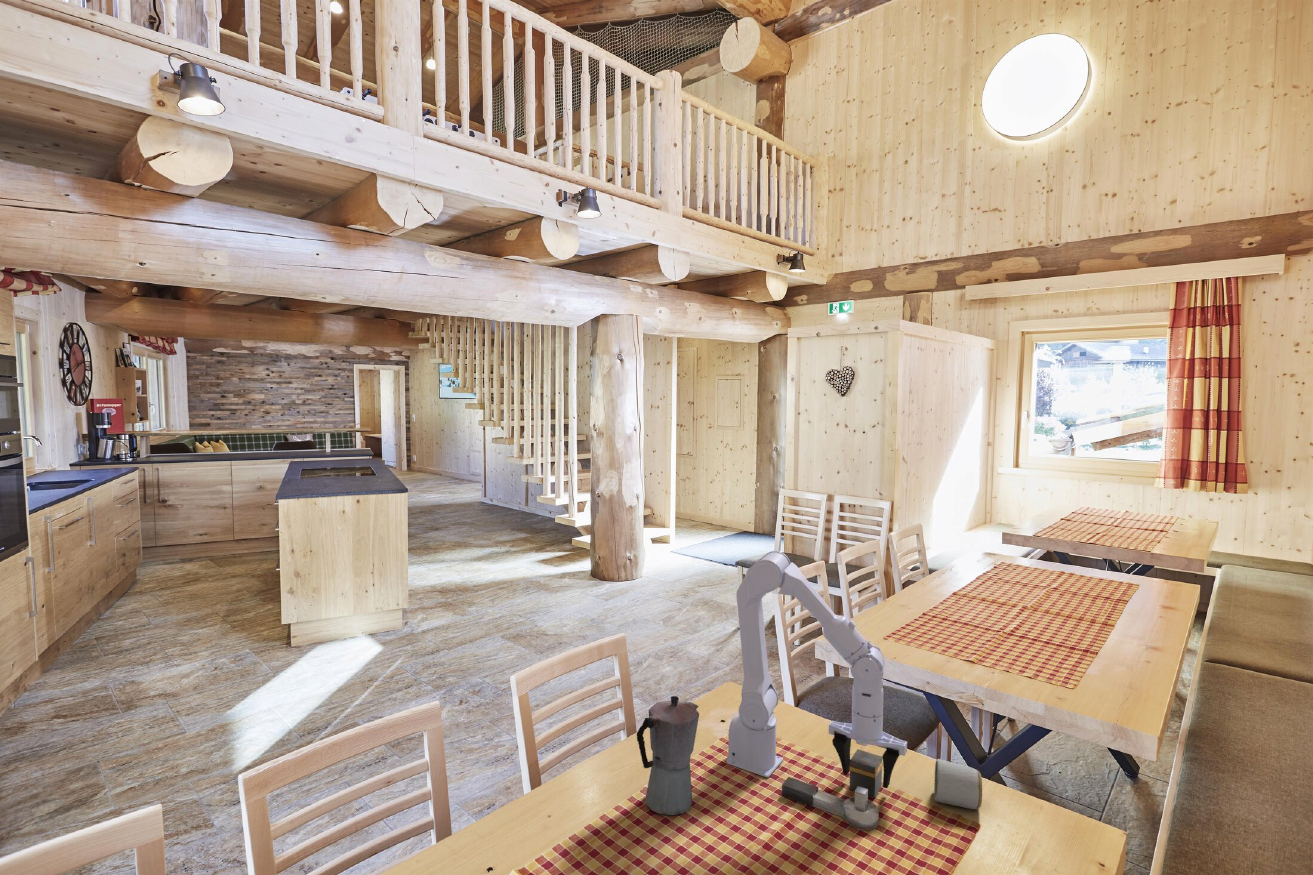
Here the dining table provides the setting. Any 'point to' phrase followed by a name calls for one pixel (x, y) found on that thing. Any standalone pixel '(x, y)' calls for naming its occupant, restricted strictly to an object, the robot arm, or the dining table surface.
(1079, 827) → the dining table surface
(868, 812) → the ratchet
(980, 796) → the ceramic mug
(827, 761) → the dining table surface
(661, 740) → the moka pot
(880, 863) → the dining table surface
